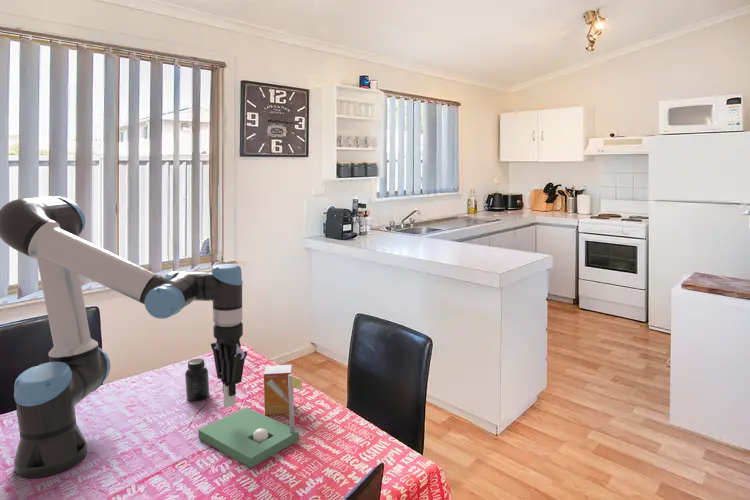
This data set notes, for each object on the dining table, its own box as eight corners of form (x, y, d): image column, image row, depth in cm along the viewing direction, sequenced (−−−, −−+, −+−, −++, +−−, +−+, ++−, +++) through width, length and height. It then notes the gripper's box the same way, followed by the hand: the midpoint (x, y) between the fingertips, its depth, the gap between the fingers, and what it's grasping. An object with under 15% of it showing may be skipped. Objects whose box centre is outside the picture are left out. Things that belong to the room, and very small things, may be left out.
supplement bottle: (187, 393, 159) (185, 358, 157) (209, 391, 161) (207, 356, 159) (186, 403, 152) (183, 366, 150) (209, 400, 154) (207, 363, 152)
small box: (264, 415, 144) (263, 374, 142) (266, 405, 151) (264, 365, 149) (292, 414, 146) (291, 372, 144) (293, 404, 152) (292, 364, 150)
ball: (254, 449, 128) (247, 435, 129) (266, 442, 131) (259, 428, 132) (261, 444, 126) (254, 430, 127) (273, 437, 129) (266, 423, 130)
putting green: (198, 438, 132) (194, 373, 129) (247, 415, 145) (244, 355, 142) (259, 472, 117) (255, 399, 114) (307, 443, 130) (305, 377, 127)
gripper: (255, 324, 130) (255, 407, 134) (225, 314, 138) (226, 393, 142) (231, 331, 124) (232, 418, 128) (201, 320, 132) (203, 402, 136)
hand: (229, 405), depth 135 cm, fingers closed
